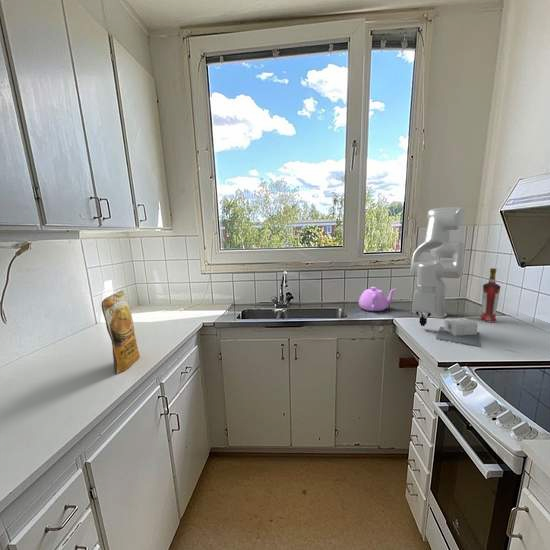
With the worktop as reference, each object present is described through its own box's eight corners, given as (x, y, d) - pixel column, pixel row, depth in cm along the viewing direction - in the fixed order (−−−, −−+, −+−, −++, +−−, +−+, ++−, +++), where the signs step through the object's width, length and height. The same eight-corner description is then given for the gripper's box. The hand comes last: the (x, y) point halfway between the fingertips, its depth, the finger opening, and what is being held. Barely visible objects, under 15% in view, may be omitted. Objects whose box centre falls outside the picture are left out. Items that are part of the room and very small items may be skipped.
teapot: (397, 315, 164) (398, 291, 162) (358, 312, 170) (359, 290, 168) (393, 305, 185) (394, 284, 183) (358, 303, 191) (359, 283, 189)
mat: (440, 327, 143) (440, 326, 143) (479, 333, 134) (479, 332, 134) (436, 339, 128) (436, 338, 128) (479, 347, 119) (479, 345, 119)
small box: (454, 335, 130) (477, 335, 131) (455, 324, 130) (478, 323, 130) (443, 329, 138) (465, 329, 139) (444, 318, 138) (465, 317, 138)
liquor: (479, 317, 157) (484, 267, 152) (496, 319, 153) (501, 268, 148) (479, 321, 151) (484, 269, 146) (497, 323, 147) (503, 270, 142)
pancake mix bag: (102, 376, 102) (92, 300, 97) (129, 353, 120) (122, 288, 116) (121, 376, 102) (112, 299, 97) (145, 353, 120) (138, 288, 116)
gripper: (443, 288, 136) (441, 325, 139) (409, 285, 145) (407, 320, 148) (442, 292, 130) (439, 330, 133) (406, 288, 138) (404, 324, 142)
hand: (422, 325), depth 140 cm, fingers closed
